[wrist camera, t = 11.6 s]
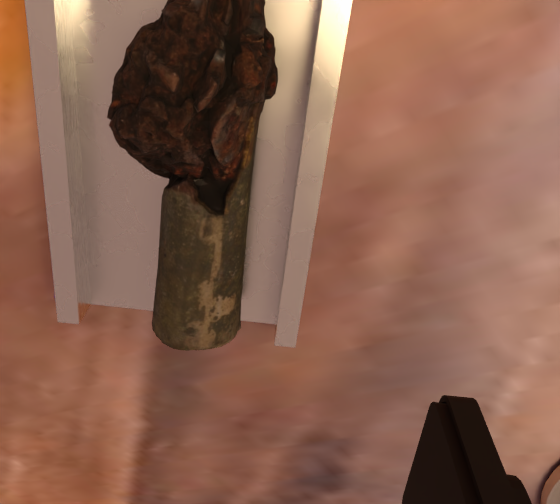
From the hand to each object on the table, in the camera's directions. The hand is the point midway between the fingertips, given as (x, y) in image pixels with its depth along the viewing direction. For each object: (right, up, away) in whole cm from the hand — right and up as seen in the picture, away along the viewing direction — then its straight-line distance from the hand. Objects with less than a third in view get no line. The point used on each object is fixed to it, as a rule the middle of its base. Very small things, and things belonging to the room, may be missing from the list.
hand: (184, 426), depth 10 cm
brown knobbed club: (-2, +8, +17) cm, 19 cm away
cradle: (-3, +9, +18) cm, 20 cm away
